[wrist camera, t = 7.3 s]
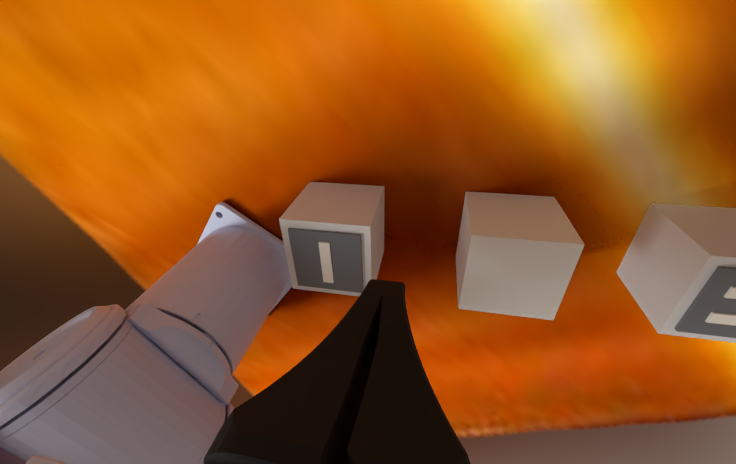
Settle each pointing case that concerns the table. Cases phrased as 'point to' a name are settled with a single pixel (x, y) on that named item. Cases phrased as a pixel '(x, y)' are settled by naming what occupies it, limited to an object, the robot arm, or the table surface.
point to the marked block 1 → (334, 237)
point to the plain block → (514, 254)
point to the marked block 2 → (685, 270)
